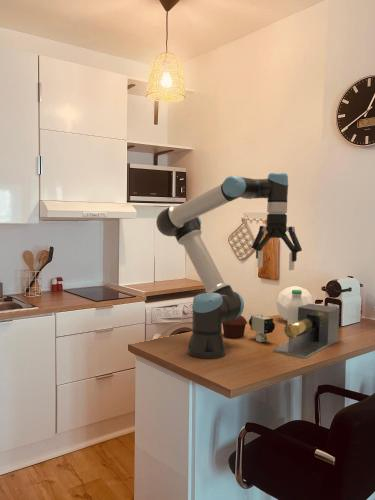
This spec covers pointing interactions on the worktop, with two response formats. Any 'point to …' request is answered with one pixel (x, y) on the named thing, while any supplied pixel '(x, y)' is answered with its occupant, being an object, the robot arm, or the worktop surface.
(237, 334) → the muffin
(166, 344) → the worktop surface
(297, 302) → the milk bottle
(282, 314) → the ball
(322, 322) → the housing
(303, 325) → the golden cylinder
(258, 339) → the pneumatic valve
